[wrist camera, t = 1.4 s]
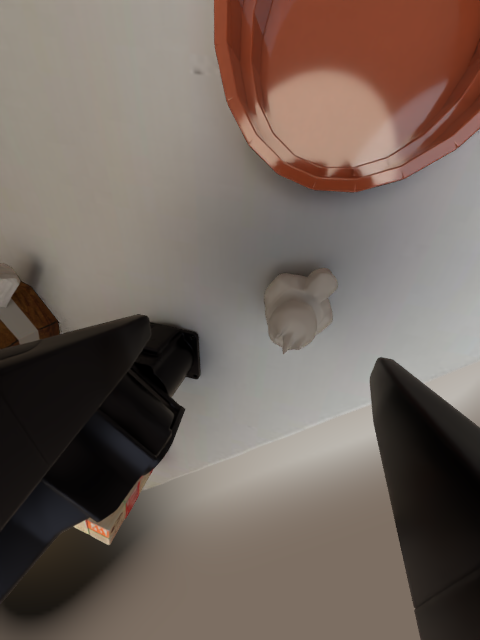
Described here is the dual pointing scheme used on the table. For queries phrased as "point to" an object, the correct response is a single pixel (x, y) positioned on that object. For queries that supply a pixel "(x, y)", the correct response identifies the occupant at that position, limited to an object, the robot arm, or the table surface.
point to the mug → (22, 312)
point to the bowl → (350, 84)
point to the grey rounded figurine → (299, 307)
